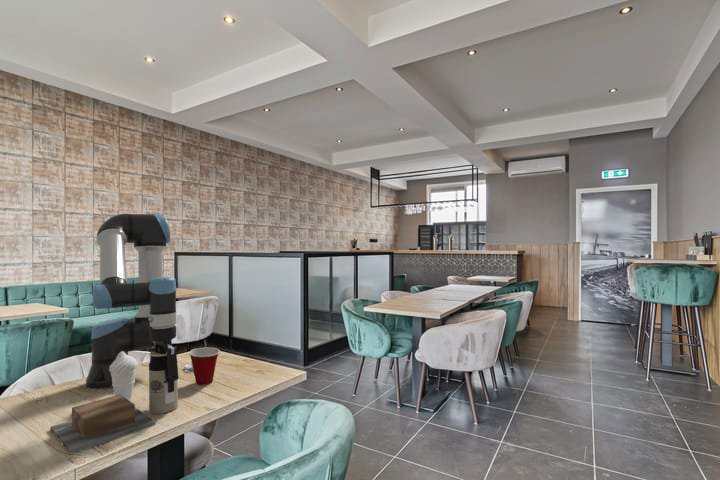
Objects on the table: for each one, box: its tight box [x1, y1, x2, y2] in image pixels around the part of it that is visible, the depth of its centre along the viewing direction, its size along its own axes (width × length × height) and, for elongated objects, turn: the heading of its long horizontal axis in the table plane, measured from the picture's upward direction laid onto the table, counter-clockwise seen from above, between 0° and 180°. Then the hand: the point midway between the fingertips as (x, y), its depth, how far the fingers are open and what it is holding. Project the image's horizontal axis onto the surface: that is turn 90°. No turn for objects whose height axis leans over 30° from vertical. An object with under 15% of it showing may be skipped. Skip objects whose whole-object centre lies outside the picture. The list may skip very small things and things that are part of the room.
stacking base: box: [49, 394, 157, 455], centre depth 107 cm, size 20×20×6 cm
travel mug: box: [148, 351, 179, 415], centre depth 119 cm, size 8×8×18 cm
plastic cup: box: [189, 347, 221, 386], centre depth 142 cm, size 11×11×12 cm
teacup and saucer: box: [183, 360, 194, 374], centre depth 158 cm, size 9×8×4 cm
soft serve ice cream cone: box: [109, 351, 139, 401], centre depth 128 cm, size 8×8×16 cm
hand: (163, 398), depth 119 cm, fingers closed on travel mug, 8 cm apart
